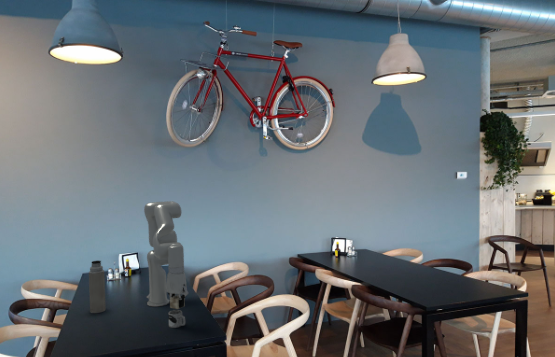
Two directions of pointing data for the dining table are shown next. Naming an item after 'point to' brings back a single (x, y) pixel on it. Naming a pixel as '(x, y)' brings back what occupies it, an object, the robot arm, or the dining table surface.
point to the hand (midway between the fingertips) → (177, 305)
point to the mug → (176, 319)
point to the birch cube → (175, 302)
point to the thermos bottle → (97, 287)
